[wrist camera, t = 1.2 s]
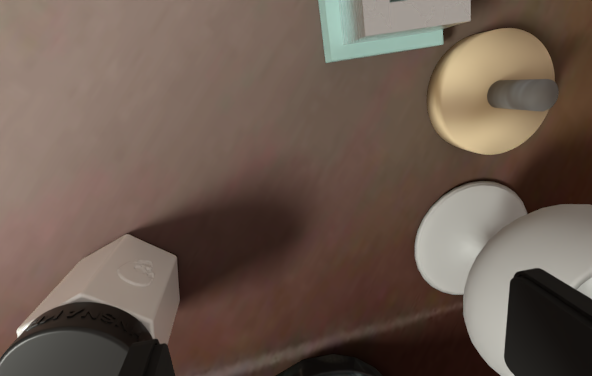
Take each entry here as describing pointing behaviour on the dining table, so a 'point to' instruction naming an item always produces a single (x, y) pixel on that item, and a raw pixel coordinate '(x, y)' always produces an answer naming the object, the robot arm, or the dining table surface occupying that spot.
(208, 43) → the dining table surface
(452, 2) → the collar
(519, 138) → the hub
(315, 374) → the beer stein
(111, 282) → the jar
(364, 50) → the stand
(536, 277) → the robot arm
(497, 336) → the chalice
